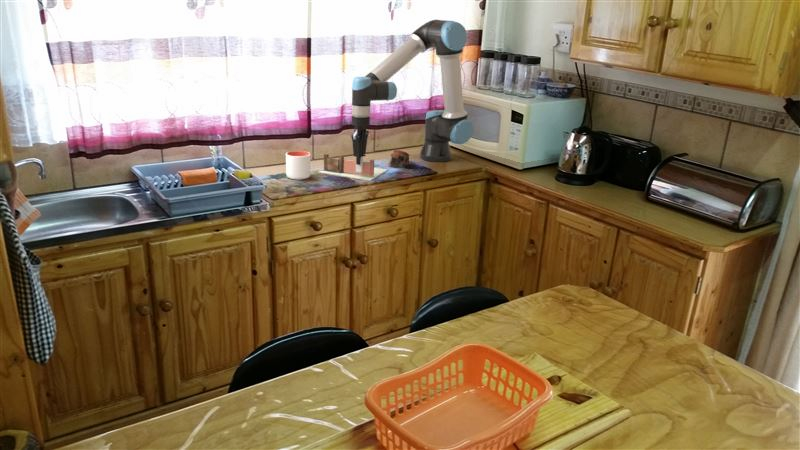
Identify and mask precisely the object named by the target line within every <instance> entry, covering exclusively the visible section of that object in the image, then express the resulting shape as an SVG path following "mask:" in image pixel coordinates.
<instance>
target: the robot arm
mask: <svg viewBox="0 0 800 450" xmlns="http://www.w3.org/2000/svg"><path fill="white" fill-rule="evenodd" d="M467 41H468V33H467V30H466V28H465V26H464V25H463V24H462V23H460V22H457V21H454V20H445V19H444V20H443V19H433V20H432V19H431V20H429V21H427V22H426V23H423V25H421V26H418V28H417V29H415V30H414V31H413V32H412V33H410V35H409V39H407V40H406V41H405V42H404V43H403V44H402V45H400V46H399V47H398V48H397V49H396V50H394V51H393V52H392V53H391V54H390V55H388V57H386V58H385V59H384V60H383V61H381V62H380V63H379V64H378V65H377V66H376V67H375V68H373V69H372V70H371V71H369V73H367V74H366V75H365V76H355V77H354V78H353V79H352V87H351V90H352V91H351V95H352V96H351V108H350V110H351V114H352V115H351V121H350V123H351V125H352V126H353V127H354V130H353V131H354V132H353V134H351V136H350V137H351V140H352V149H353V151H352V152H353V157H355V161H356V172H363V162H364V157H366V151H367V144H368V137H369V134H370V131H369V130H367V127H369V126H370V125H371V122H370V121H371V120H370V119H371V117H370V115H371V101H372V102H373V101H375V102H376V101H392V100H394V99H395V98H396V97H397V94H398V88H397V85H396V84H395V82H393V81H389V80H390V79H391V78H392V77H393V76H394V75H395V74H397V73H398V72H399V71H400V70H401V69H403V68H404V67H405V66H406V65H407V64H408V63H409V62H411V61H412V60H413V59H415V57H416V56H418V55H419V54H420V53H423V54H424V53H425V52H426V51H428V50H430V49H431V48H435V55H436V56H437V57H438V58H439V60H440V62H439V63H440V72H441V73H440V74H441V83H442V84H441V85H442V94H443V97H442V98H443V105H444V109H442V110H441V109H437V110H428V111H427V112H426V114H425V115H426V116H425V119H424V120H425V121H424V122H425V124H424V125H425V126H424V142H423V144H422V147H421V150H420V153H419V158H420V160H423V161H428V162H436V163H438V162H439V163H441V162H442V163H443V162H449V161H451V160H452V151H451V148H450V143H449V142H451V143H452V144H455V145H463V144H466V143H467V142H469V140H470V139H471V137H473V134H474V123H473V122H472V121H471V120H470V119H469V117H468V115H469V114H468V112H467V110H465V108H464V95H463V84H462V83H463V82H462V71H461V70H462V69H461V58H460V56H461V55H462V54H463V53H464V48H465V46H466V43H467Z"/></svg>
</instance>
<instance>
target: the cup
mask: <svg viewBox="0 0 800 450" xmlns="http://www.w3.org/2000/svg"><path fill="white" fill-rule="evenodd" d="M285 174H286V177H287V178H288V179H291V180H300V181H301V180H307V179H308V178H310V177H311V153H310V152H308V151H304V150H303V151H302V150H293V151H292V150H291V151H287V152H285Z"/></svg>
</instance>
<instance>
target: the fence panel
mask: <svg viewBox="0 0 800 450" xmlns="http://www.w3.org/2000/svg"><path fill="white" fill-rule="evenodd" d="M374 168H375V159H369V161H368V162H367V161H363V172H356V160H353V159H344V172H348V173H356V174H364V175H370V176H373V175H374Z"/></svg>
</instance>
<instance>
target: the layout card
mask: <svg viewBox="0 0 800 450" xmlns="http://www.w3.org/2000/svg"><path fill="white" fill-rule="evenodd" d="M387 170H388V169H387V168H386V169H385V168H379V167H374V175H373V176H370V175H364V174H356V173H348V172H344V173H339V171H333V170H328V171H325V170H324V168H323V169H322V170H319V171H318V172H317V173H318V174H323V175H331V176H336V177H344V178H348V179H349V178H350V179H357V180H363V181H370V182H371V181H372V180H373V181H374V179H376V178H378V177H379V176H381V175H383V174H384V173H386V172H388V171H387Z"/></svg>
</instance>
